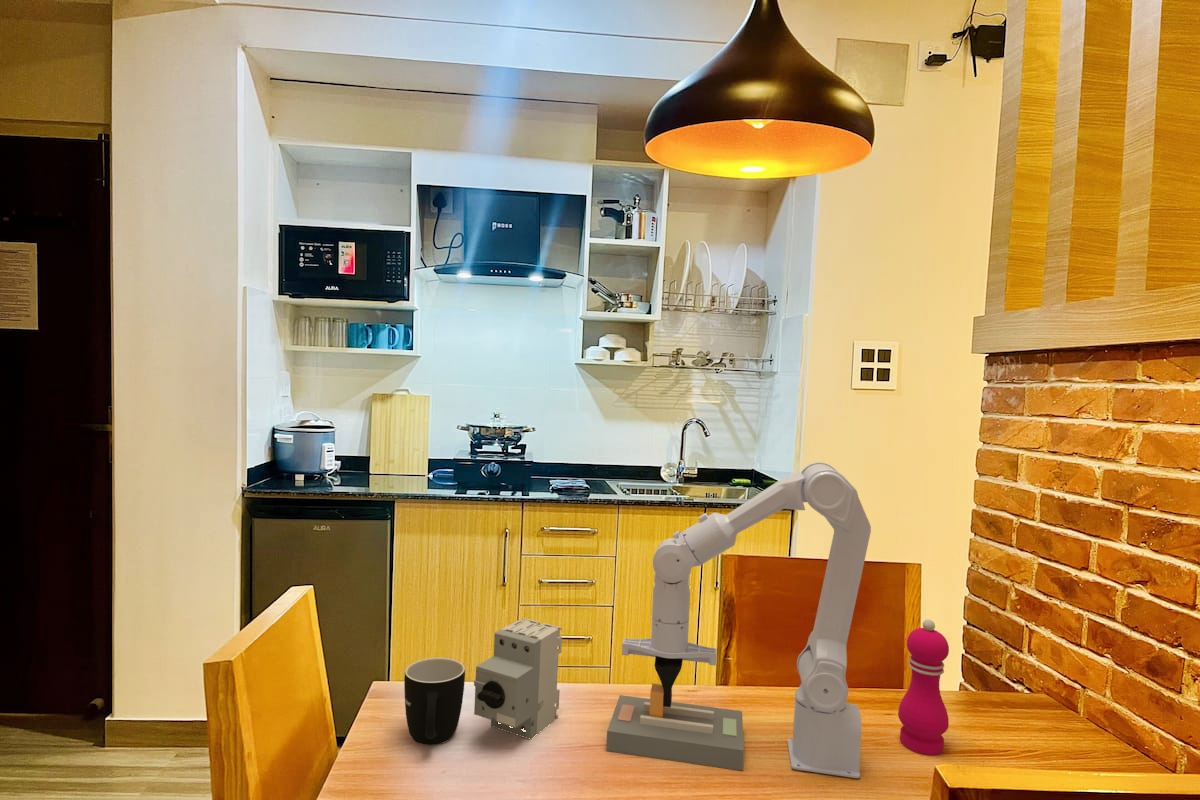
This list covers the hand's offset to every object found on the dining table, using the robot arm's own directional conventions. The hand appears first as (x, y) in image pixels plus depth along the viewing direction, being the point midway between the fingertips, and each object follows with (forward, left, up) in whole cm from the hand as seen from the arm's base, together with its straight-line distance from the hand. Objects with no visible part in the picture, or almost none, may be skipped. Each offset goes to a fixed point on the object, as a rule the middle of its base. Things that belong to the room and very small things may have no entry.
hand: (666, 704), depth 107 cm
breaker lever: (+2, 0, -2) cm, 3 cm away
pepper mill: (-40, -9, -6) cm, 41 cm away
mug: (+34, +10, -6) cm, 36 cm away
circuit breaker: (+23, +4, -6) cm, 24 cm away
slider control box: (-2, 0, -5) cm, 6 cm away
